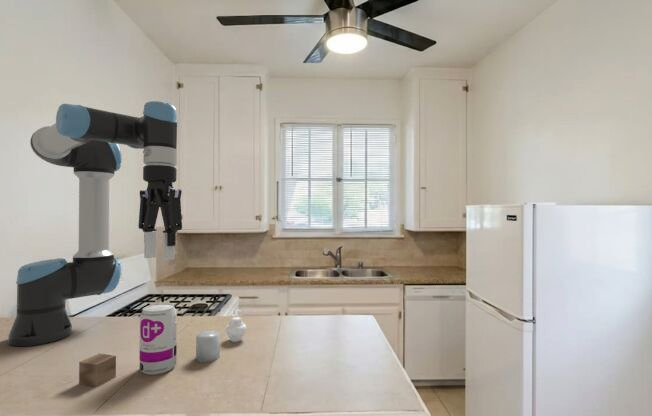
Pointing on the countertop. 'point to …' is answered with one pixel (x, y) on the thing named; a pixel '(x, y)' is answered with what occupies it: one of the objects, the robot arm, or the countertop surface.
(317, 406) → the countertop surface
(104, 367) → the walnut block
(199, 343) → the white rounded cylinder
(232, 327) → the white ribbed rounded piece
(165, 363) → the supplement can
